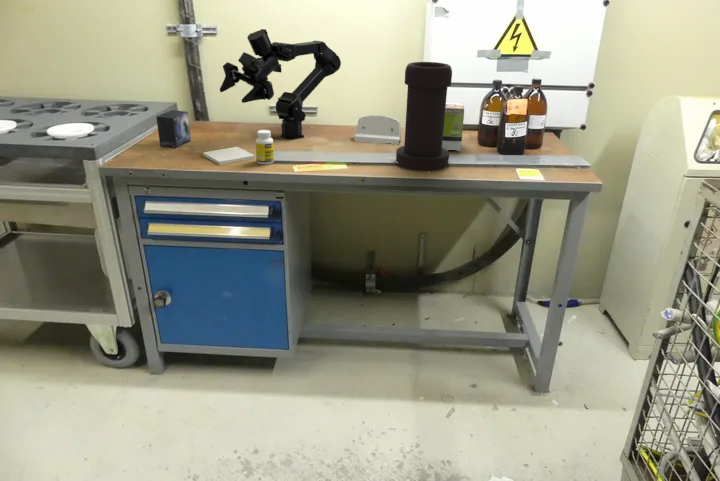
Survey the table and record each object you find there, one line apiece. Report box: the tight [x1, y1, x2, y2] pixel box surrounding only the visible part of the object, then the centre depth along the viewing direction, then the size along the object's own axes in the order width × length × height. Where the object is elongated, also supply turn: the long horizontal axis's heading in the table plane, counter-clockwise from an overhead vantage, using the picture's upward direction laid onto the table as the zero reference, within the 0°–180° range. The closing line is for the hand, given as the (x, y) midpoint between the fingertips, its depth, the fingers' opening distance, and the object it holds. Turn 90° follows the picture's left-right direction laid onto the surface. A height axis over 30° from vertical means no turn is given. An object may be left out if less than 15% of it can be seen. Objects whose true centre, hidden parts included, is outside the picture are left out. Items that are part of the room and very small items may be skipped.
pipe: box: [395, 61, 453, 172], centre depth 163 cm, size 16×16×30 cm
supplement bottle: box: [255, 129, 275, 165], centre depth 164 cm, size 5×5×10 cm
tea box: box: [442, 102, 465, 152], centre depth 183 cm, size 15×10×15 cm
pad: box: [202, 146, 256, 166], centre depth 170 cm, size 12×12×1 cm
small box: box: [155, 109, 192, 149], centre depth 181 cm, size 11×6×10 cm, turn 168°
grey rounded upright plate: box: [353, 114, 402, 145], centre depth 191 cm, size 17×5×10 cm, turn 79°
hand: (231, 96), depth 168 cm, fingers open, 9 cm apart
